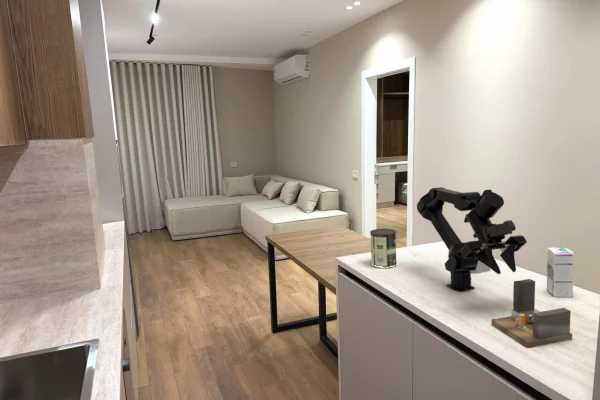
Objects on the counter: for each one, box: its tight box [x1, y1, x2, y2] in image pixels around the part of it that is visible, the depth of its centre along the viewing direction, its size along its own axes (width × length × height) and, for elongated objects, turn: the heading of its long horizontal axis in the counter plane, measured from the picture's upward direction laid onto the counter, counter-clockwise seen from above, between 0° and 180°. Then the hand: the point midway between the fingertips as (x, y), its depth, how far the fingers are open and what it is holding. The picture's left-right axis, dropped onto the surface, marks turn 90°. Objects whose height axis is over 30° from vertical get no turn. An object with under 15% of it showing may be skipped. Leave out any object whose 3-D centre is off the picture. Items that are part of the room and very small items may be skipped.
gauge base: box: [491, 307, 573, 349], centre depth 108 cm, size 13×13×8 cm
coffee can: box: [369, 228, 398, 267], centre depth 169 cm, size 10×10×14 cm
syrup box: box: [546, 246, 575, 298], centre depth 130 cm, size 6×6×14 cm
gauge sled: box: [510, 278, 541, 324], centre depth 110 cm, size 6×7×10 cm
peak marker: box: [518, 314, 525, 327], centre depth 108 cm, size 1×1×3 cm
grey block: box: [470, 260, 491, 275], centre depth 159 cm, size 10×13×9 cm
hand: (507, 272), depth 117 cm, fingers open, 5 cm apart
